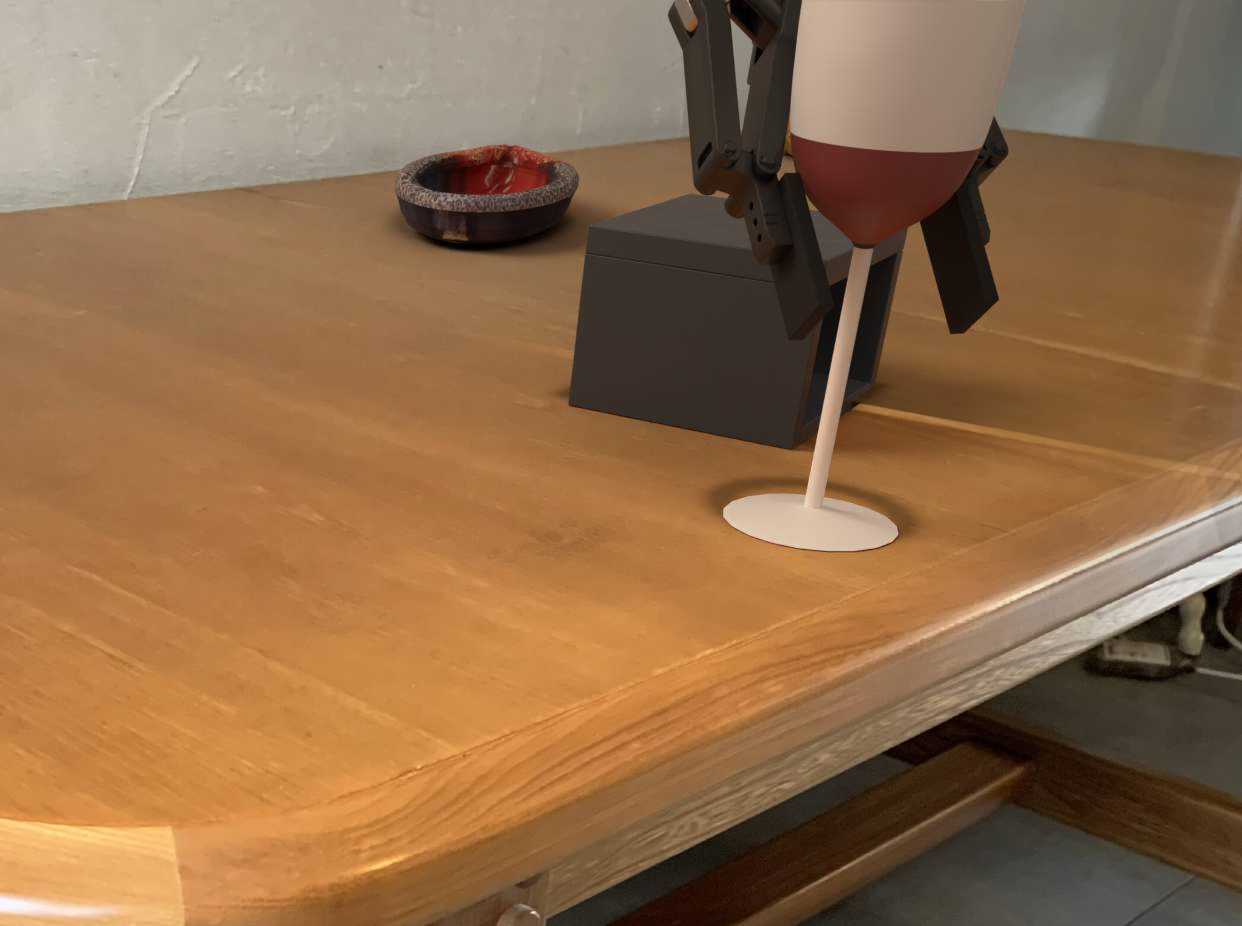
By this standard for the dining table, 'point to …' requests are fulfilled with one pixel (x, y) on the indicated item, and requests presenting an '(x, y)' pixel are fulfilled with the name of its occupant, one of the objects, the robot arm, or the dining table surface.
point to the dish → (485, 194)
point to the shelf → (715, 325)
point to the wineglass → (878, 182)
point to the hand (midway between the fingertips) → (893, 319)
